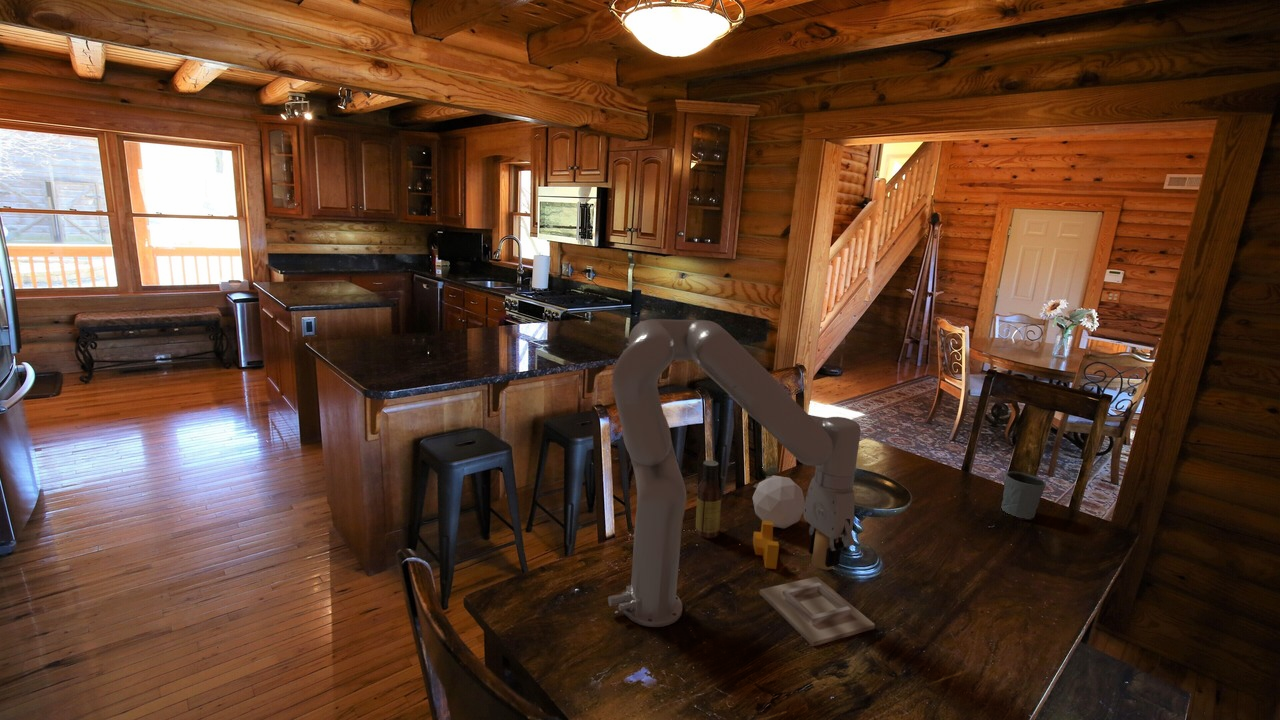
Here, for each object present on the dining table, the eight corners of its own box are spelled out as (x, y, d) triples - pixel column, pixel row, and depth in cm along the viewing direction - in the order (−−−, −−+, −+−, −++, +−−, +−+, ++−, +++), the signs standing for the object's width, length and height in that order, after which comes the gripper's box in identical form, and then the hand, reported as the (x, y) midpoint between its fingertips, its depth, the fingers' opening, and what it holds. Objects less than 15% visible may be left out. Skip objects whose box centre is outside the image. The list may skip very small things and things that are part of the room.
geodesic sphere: (738, 526, 161) (743, 477, 158) (756, 507, 173) (762, 461, 170) (791, 544, 154) (798, 493, 151) (807, 523, 166) (814, 475, 163)
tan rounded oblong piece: (822, 571, 122) (827, 536, 120) (807, 560, 126) (811, 525, 124) (838, 567, 124) (843, 532, 122) (823, 556, 128) (827, 522, 126)
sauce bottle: (722, 532, 157) (729, 462, 153) (712, 542, 152) (719, 470, 148) (700, 524, 161) (706, 456, 156) (689, 534, 156) (696, 463, 151)
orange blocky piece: (752, 542, 154) (755, 519, 152) (769, 544, 153) (772, 521, 152) (757, 568, 142) (760, 544, 141) (776, 570, 142) (779, 545, 140)
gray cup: (990, 507, 184) (998, 471, 181) (1020, 507, 185) (1028, 471, 182) (1014, 523, 174) (1022, 485, 171) (1045, 523, 175) (1054, 485, 173)
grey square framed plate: (812, 646, 116) (814, 634, 115) (759, 593, 132) (760, 583, 131) (874, 628, 122) (876, 617, 122) (816, 580, 138) (817, 570, 138)
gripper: (793, 464, 126) (784, 541, 130) (849, 498, 111) (837, 584, 115) (820, 460, 129) (811, 536, 133) (879, 493, 114) (866, 577, 118)
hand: (823, 557), depth 124 cm, fingers closed on tan rounded oblong piece, 4 cm apart
